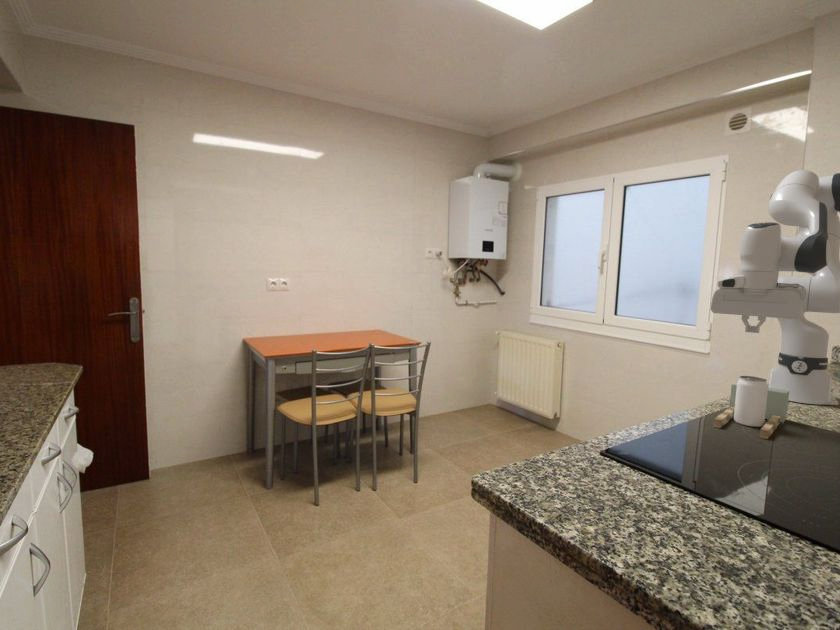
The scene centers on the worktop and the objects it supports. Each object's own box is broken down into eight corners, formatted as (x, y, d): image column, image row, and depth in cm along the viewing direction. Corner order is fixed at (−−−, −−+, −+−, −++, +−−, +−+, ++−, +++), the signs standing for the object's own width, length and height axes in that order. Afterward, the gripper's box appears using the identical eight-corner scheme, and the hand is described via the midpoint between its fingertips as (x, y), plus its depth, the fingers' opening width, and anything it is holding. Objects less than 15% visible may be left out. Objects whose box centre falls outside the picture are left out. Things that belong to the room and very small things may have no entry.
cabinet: (733, 408, 129) (735, 381, 128) (786, 419, 120) (789, 390, 119) (729, 412, 125) (731, 384, 125) (783, 423, 117) (786, 393, 116)
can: (753, 420, 119) (758, 376, 118) (770, 428, 112) (775, 381, 111) (728, 418, 119) (732, 374, 118) (743, 426, 113) (747, 380, 112)
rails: (729, 413, 124) (730, 406, 124) (779, 424, 116) (780, 416, 116) (713, 426, 112) (713, 418, 112) (767, 439, 104) (768, 431, 104)
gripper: (808, 283, 116) (802, 336, 118) (717, 281, 131) (713, 327, 132) (805, 283, 112) (799, 338, 113) (711, 281, 127) (707, 329, 128)
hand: (752, 332), depth 123 cm, fingers closed
